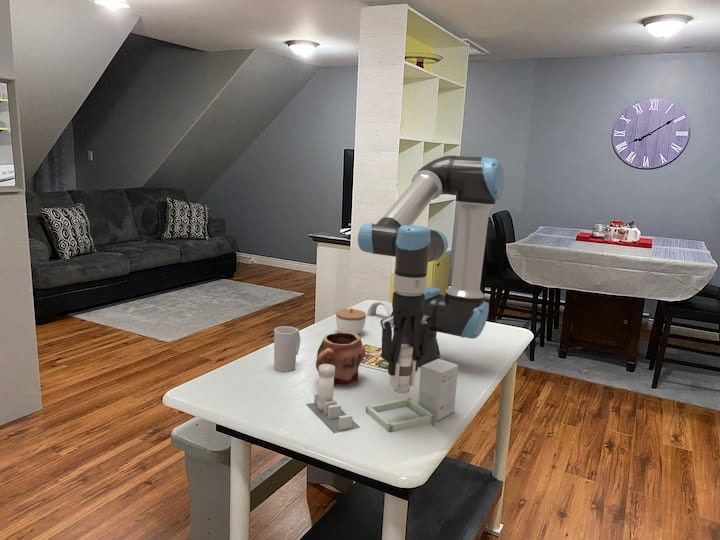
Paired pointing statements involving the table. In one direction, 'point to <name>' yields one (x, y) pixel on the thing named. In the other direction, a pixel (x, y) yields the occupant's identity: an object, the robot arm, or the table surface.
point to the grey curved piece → (386, 304)
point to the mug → (286, 348)
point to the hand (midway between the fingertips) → (401, 385)
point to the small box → (438, 387)
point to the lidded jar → (350, 320)
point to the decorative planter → (342, 356)
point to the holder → (330, 403)
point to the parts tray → (423, 419)
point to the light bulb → (404, 368)
